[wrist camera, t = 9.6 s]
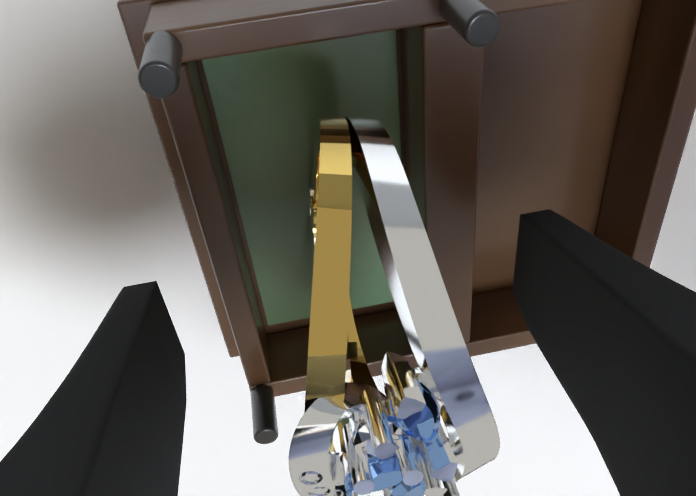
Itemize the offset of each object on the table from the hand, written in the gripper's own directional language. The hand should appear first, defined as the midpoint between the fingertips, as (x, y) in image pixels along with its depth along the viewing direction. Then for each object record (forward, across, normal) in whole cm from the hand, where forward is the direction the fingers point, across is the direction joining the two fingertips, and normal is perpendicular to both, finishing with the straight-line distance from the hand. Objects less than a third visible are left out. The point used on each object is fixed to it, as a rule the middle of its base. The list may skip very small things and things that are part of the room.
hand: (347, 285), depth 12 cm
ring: (+3, 0, 0) cm, 3 cm away
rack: (+4, -3, 0) cm, 5 cm away
